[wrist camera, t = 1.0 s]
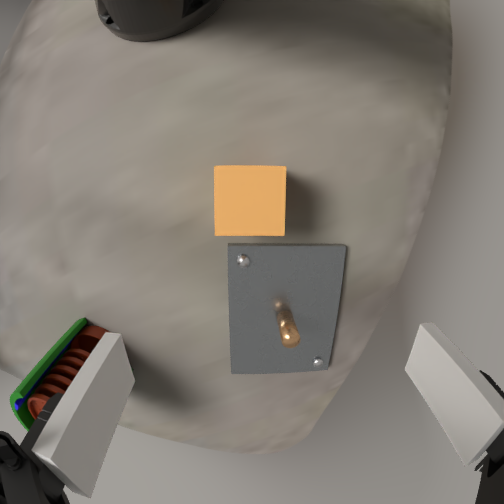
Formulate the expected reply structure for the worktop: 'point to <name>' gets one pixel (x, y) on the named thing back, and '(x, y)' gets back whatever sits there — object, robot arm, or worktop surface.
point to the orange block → (249, 200)
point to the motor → (54, 371)
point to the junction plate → (283, 305)
